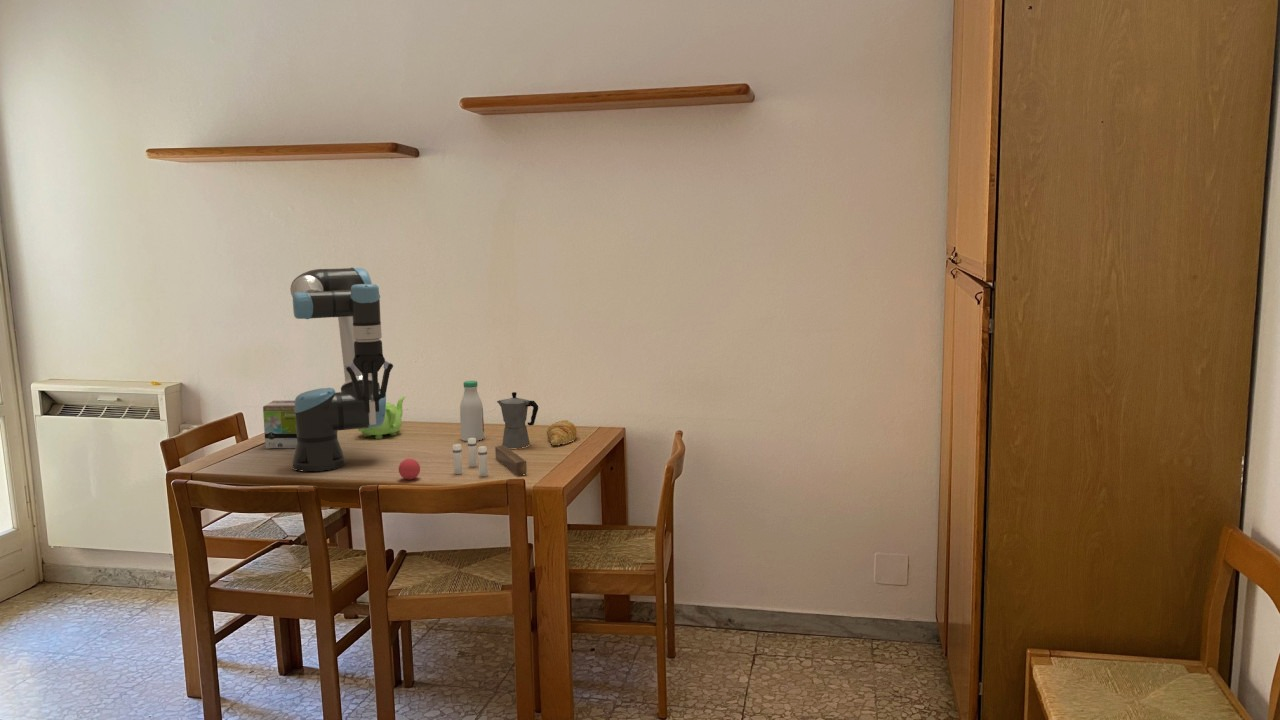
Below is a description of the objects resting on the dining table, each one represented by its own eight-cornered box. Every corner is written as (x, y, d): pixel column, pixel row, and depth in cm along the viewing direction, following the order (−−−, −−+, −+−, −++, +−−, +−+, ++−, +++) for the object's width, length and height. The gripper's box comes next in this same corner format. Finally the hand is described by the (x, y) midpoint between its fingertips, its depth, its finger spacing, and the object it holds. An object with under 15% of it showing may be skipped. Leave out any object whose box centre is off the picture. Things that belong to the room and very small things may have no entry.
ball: (401, 483, 264) (400, 462, 263) (397, 478, 269) (396, 457, 268) (422, 480, 266) (421, 460, 265) (418, 475, 272) (417, 455, 271)
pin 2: (480, 477, 269) (479, 448, 268) (477, 475, 271) (476, 446, 270) (489, 476, 270) (487, 447, 269) (486, 473, 272) (485, 445, 271)
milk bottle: (481, 441, 313) (479, 383, 310) (459, 442, 313) (456, 383, 310) (486, 436, 320) (483, 379, 317) (463, 437, 320) (461, 379, 317)
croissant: (562, 458, 303) (573, 437, 302) (535, 443, 304) (546, 423, 302) (577, 442, 324) (587, 422, 322) (552, 428, 325) (561, 408, 323)
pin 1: (469, 467, 280) (468, 440, 278) (467, 465, 282) (466, 438, 281) (478, 466, 281) (477, 439, 279) (476, 464, 283) (474, 437, 282)
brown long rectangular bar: (516, 476, 269) (516, 462, 269) (495, 459, 289) (495, 446, 289) (526, 474, 271) (526, 461, 270) (505, 458, 290) (504, 445, 290)
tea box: (264, 449, 306) (261, 405, 304) (275, 442, 316) (272, 399, 314) (311, 448, 307) (308, 404, 305) (320, 441, 317) (317, 399, 315)
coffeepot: (491, 447, 305) (489, 393, 302) (506, 441, 313) (504, 388, 310) (531, 451, 298) (530, 396, 296) (546, 445, 307) (544, 391, 304)
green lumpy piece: (368, 430, 334) (365, 395, 332) (407, 429, 333) (405, 394, 332) (354, 440, 318) (351, 404, 316) (395, 439, 317) (393, 403, 316)
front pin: (454, 474, 272) (453, 446, 270) (452, 472, 274) (451, 444, 273) (463, 473, 273) (462, 445, 272) (461, 471, 275) (460, 443, 274)
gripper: (345, 343, 252) (350, 428, 255) (394, 339, 257) (398, 423, 260) (341, 340, 258) (346, 423, 262) (389, 337, 264) (393, 418, 267)
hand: (372, 423), depth 261 cm, fingers closed
